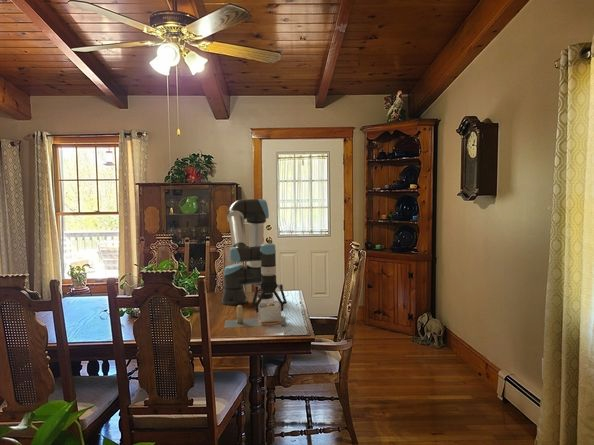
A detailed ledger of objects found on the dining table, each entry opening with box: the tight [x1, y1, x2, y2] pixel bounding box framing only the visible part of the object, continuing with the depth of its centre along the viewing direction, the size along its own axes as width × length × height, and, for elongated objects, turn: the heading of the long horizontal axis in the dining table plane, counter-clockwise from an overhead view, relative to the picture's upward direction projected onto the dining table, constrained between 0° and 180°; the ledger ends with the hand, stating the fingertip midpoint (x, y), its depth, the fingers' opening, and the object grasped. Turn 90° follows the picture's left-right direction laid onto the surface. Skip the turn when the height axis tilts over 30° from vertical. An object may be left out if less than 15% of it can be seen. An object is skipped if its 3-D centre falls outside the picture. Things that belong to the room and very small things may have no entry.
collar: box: [259, 301, 281, 322], centre depth 214 cm, size 10×10×7 cm
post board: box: [223, 304, 287, 329], centre depth 213 cm, size 30×14×10 cm, turn 96°
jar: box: [256, 291, 275, 306], centre depth 231 cm, size 9×8×12 cm
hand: (269, 318), depth 214 cm, fingers closed on collar, 10 cm apart
